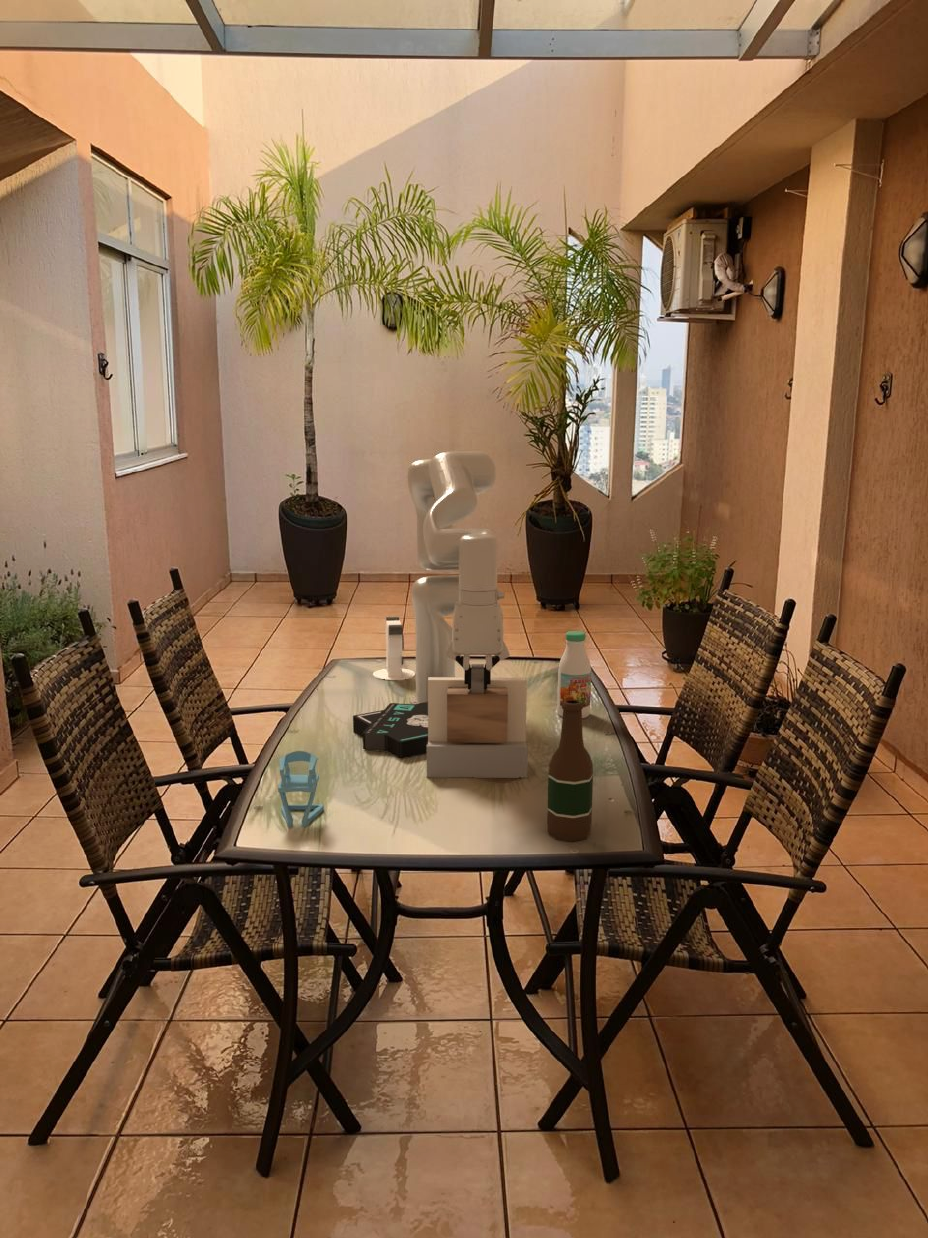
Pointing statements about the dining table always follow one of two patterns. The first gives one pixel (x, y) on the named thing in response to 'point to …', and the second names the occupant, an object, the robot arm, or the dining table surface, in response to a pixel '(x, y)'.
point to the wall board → (477, 756)
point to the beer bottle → (570, 780)
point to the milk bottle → (574, 673)
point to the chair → (299, 787)
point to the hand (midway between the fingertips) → (477, 687)
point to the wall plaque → (395, 729)
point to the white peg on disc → (394, 653)
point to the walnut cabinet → (477, 711)
